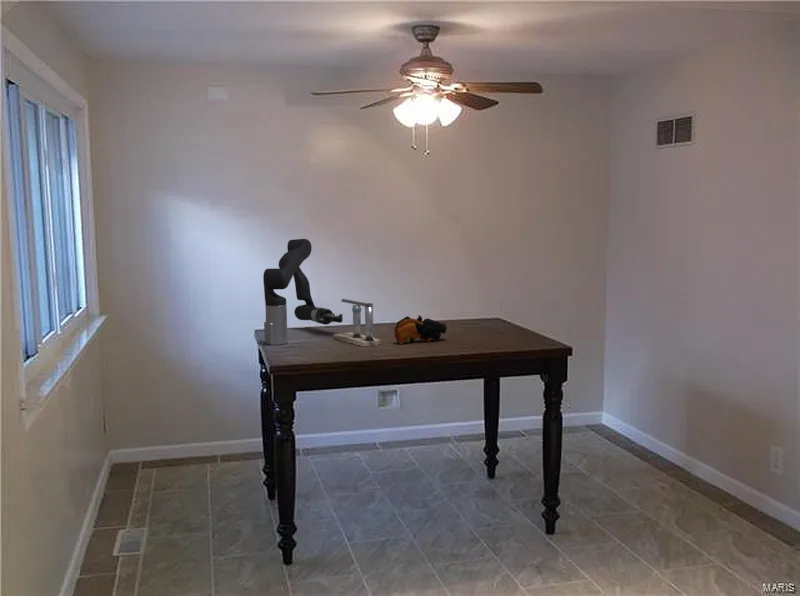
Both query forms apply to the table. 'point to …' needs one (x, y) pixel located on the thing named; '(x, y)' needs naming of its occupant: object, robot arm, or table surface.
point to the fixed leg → (367, 317)
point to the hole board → (357, 339)
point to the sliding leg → (356, 320)
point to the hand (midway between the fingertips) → (340, 320)
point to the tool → (418, 329)
